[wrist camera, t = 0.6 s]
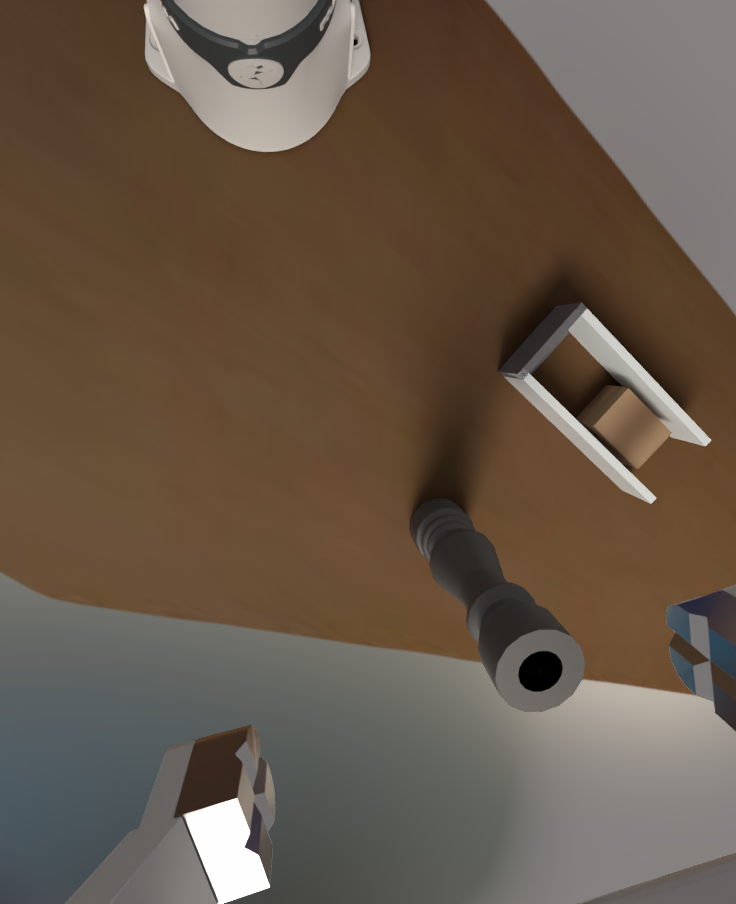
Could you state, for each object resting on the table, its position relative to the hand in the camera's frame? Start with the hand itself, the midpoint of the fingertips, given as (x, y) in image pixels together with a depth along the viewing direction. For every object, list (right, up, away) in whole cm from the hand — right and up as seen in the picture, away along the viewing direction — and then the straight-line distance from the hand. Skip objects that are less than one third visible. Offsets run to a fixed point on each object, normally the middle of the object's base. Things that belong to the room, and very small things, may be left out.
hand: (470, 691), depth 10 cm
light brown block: (+24, +8, +45) cm, 52 cm away
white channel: (+22, +10, +44) cm, 50 cm away
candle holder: (+6, -3, +45) cm, 46 cm away
